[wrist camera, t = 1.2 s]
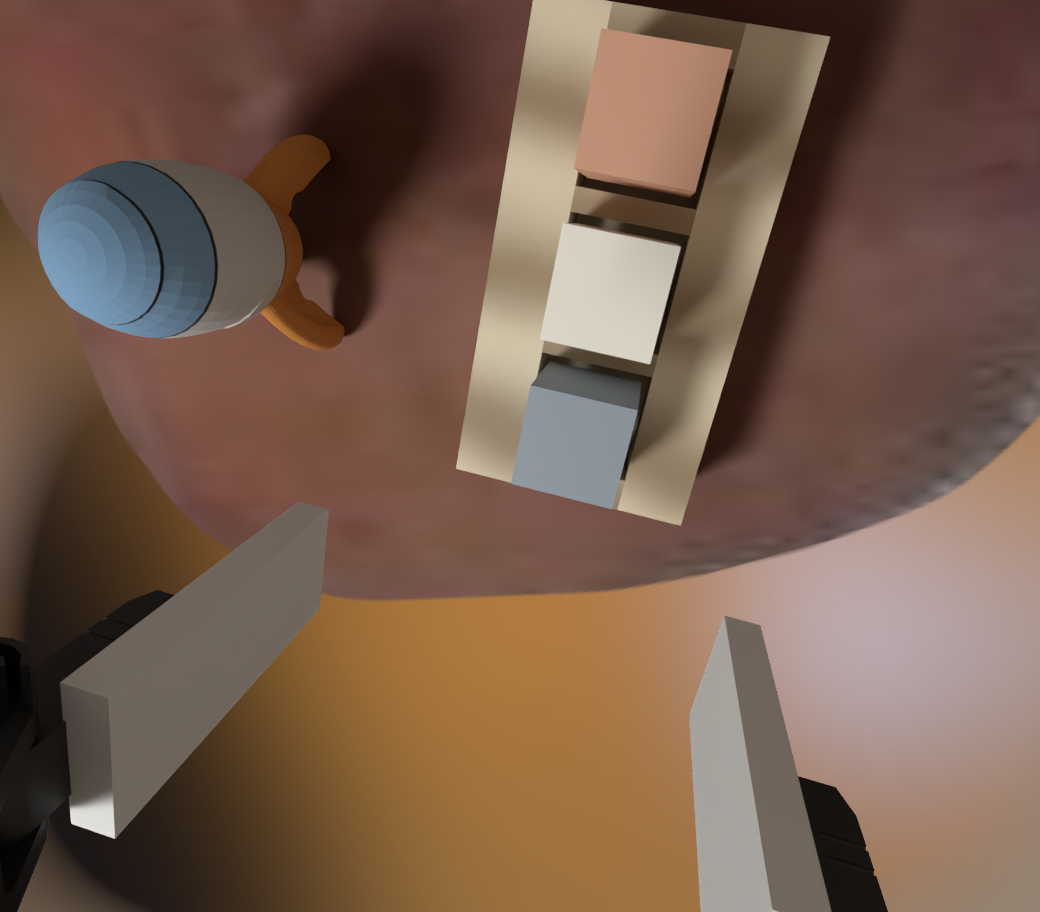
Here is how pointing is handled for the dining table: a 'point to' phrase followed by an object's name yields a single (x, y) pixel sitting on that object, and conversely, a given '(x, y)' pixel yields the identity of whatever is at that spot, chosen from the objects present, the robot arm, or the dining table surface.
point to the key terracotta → (650, 111)
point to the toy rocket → (186, 246)
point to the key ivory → (609, 291)
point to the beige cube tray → (686, 221)
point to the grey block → (576, 433)
